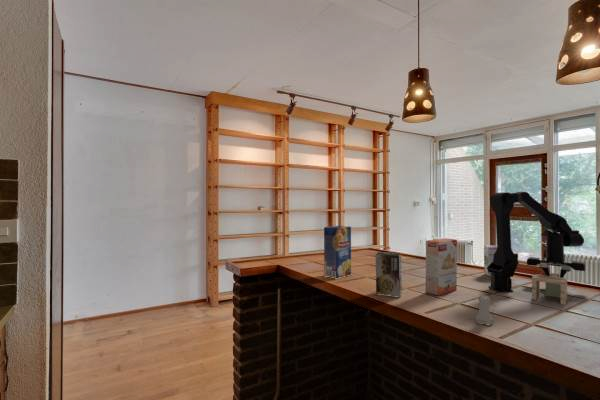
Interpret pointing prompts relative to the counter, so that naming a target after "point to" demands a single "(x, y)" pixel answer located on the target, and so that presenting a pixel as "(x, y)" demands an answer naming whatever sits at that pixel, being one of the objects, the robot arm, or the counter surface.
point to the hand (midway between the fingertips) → (555, 284)
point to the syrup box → (488, 257)
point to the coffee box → (388, 273)
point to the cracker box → (441, 266)
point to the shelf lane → (558, 280)
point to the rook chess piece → (484, 310)
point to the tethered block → (553, 288)
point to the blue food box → (337, 251)
